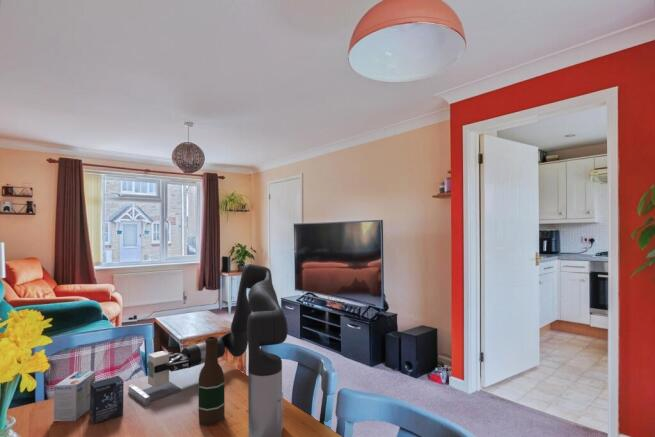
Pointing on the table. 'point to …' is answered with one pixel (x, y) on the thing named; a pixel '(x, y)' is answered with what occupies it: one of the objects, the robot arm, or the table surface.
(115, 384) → the box
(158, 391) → the shelf mat
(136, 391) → the rail
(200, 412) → the beer bottle
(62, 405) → the light bulb box
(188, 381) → the table surface
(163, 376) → the carton
